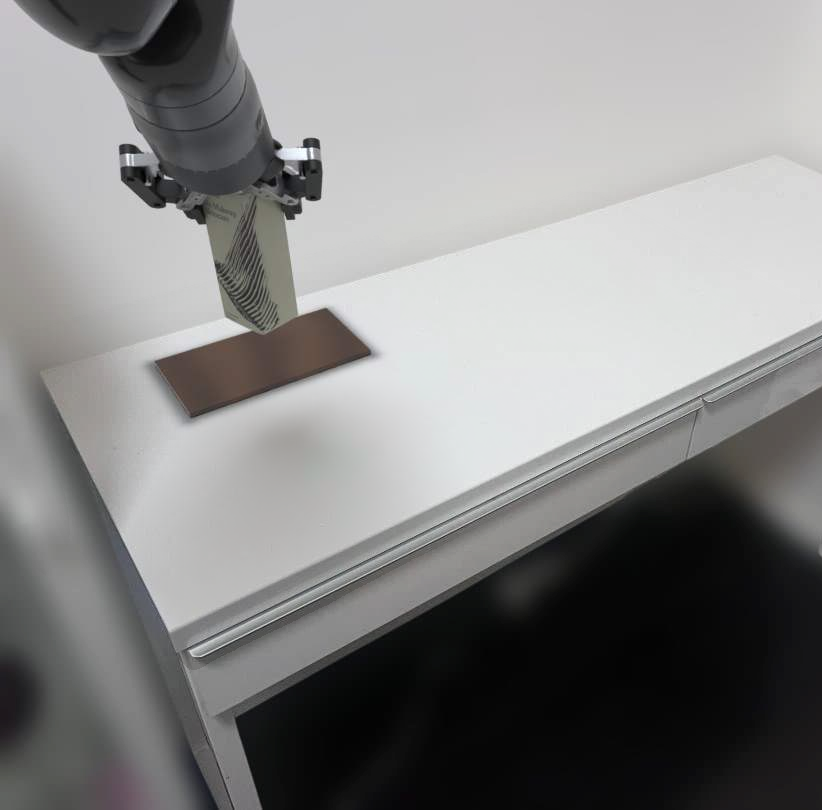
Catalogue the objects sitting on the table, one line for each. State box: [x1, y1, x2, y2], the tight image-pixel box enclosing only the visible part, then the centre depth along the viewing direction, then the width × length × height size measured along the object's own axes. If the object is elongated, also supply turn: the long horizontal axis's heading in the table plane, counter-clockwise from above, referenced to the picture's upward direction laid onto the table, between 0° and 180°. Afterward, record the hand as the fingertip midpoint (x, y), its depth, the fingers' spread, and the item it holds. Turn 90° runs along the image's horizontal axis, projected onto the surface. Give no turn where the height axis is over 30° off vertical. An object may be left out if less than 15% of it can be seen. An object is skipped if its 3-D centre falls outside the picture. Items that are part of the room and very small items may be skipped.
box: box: [202, 191, 299, 335], centre depth 67 cm, size 5×4×13 cm
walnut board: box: [153, 307, 372, 418], centre depth 88 cm, size 20×11×1 cm, turn 128°
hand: (246, 211), depth 67 cm, fingers closed on box, 6 cm apart
